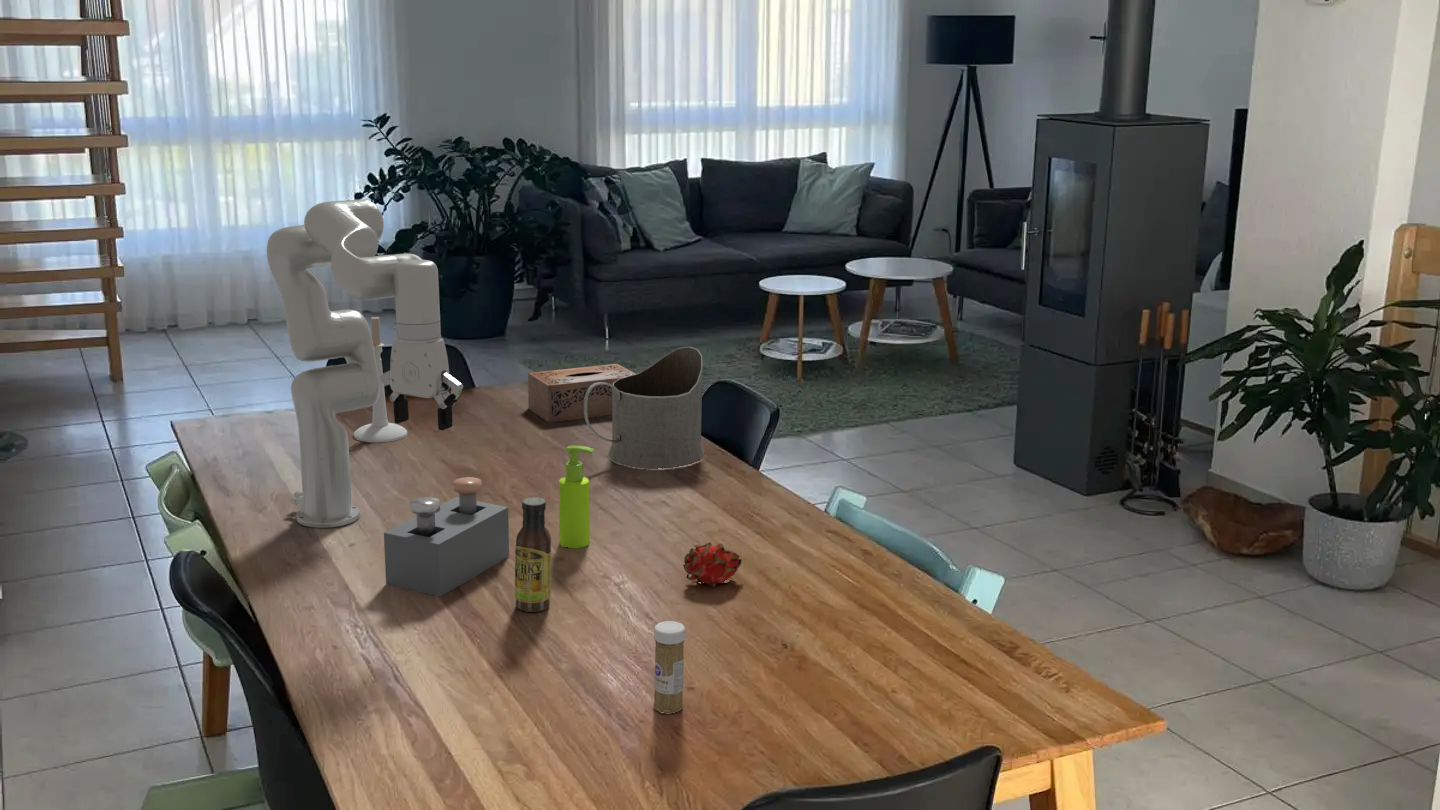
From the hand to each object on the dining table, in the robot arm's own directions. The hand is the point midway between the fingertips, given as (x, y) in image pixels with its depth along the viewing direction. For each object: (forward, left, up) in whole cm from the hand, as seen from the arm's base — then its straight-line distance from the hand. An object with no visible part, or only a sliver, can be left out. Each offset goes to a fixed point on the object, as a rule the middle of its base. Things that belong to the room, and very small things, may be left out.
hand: (423, 425), depth 245 cm
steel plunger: (+1, -1, -22) cm, 22 cm away
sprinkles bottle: (+62, -24, -30) cm, 72 cm away
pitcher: (0, +83, -30) cm, 88 cm away
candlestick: (-65, +68, -30) cm, 99 cm away
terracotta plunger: (+1, +12, -22) cm, 25 cm away
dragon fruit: (+47, +23, -30) cm, 60 cm away
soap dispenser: (+15, +28, -30) cm, 44 cm away
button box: (+1, +5, -30) cm, 30 cm away
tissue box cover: (-33, +113, -30) cm, 121 cm away
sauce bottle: (+24, -2, -30) cm, 38 cm away
